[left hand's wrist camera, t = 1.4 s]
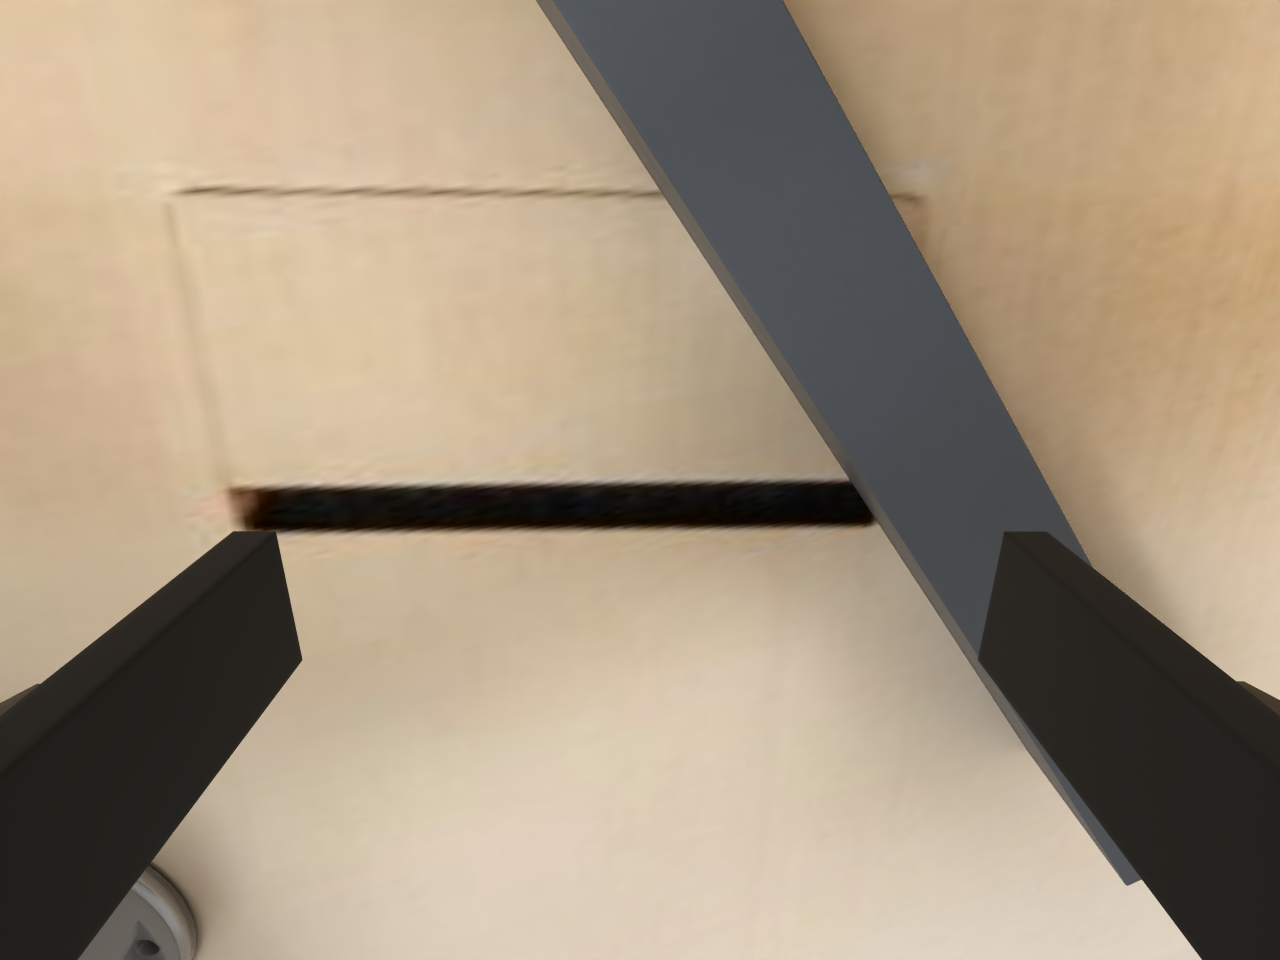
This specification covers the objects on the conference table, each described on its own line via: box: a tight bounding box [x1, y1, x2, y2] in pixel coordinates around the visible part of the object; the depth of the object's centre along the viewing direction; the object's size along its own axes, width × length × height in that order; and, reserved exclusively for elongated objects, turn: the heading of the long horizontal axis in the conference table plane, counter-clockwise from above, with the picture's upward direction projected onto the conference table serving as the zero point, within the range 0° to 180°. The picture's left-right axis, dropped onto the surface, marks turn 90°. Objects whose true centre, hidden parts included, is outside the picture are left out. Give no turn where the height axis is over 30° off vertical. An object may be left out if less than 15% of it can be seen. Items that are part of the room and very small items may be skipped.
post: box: [536, 0, 1141, 886], centre depth 25 cm, size 76×5×9 cm, turn 36°
